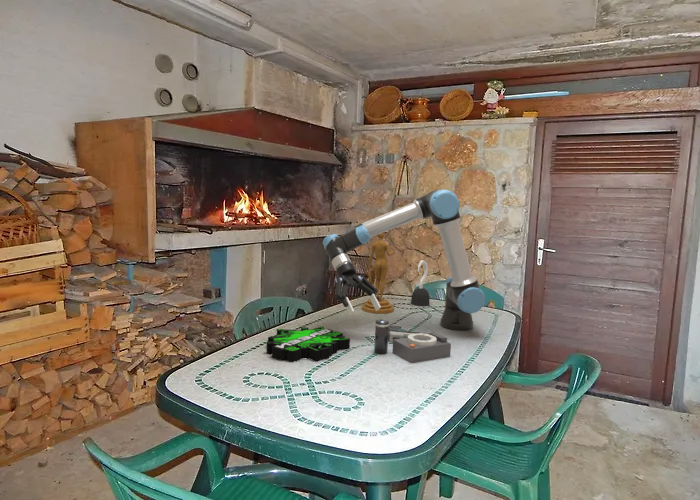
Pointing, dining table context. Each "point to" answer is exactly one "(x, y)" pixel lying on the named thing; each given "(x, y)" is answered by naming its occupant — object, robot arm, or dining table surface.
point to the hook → (421, 290)
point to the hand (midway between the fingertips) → (365, 311)
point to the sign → (306, 344)
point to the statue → (379, 275)
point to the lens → (381, 336)
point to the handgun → (399, 333)
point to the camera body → (422, 347)
